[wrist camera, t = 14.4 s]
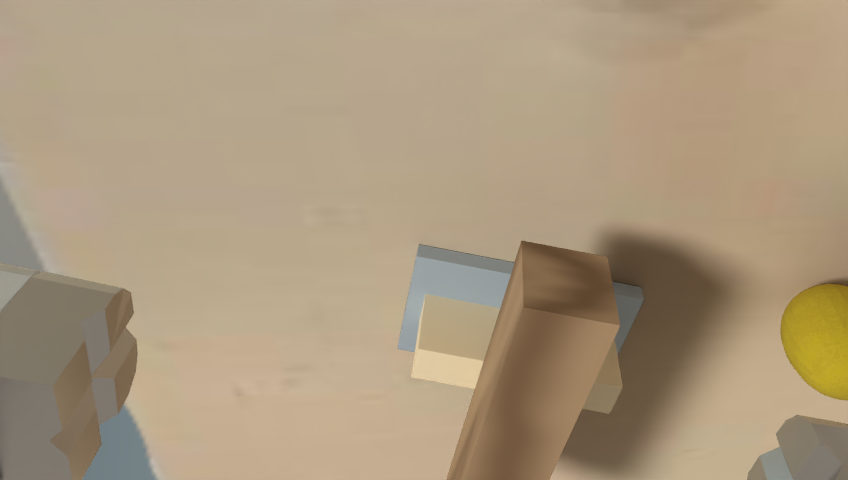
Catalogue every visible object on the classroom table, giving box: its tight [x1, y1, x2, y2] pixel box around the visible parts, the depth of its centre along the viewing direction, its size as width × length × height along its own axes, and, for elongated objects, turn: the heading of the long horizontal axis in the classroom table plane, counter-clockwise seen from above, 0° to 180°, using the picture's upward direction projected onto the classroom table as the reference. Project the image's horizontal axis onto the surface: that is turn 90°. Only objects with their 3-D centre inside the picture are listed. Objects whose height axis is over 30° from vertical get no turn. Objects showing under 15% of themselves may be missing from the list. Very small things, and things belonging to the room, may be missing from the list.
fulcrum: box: [398, 245, 644, 414], centre depth 44 cm, size 14×8×6 cm, turn 80°
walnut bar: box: [447, 241, 620, 480], centre depth 40 cm, size 4×20×5 cm, turn 170°
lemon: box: [781, 284, 848, 400], centre depth 41 cm, size 6×6×8 cm
